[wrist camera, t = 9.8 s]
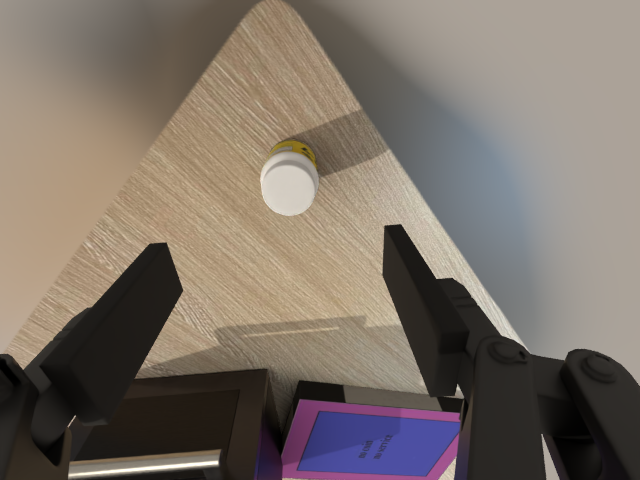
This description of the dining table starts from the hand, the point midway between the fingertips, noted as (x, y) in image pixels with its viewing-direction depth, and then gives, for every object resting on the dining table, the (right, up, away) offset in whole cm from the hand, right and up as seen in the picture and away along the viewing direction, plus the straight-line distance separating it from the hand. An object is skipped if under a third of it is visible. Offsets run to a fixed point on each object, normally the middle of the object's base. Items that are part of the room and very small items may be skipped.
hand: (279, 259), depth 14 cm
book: (+11, -31, +38) cm, 51 cm away
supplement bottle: (-1, +9, +16) cm, 18 cm away
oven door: (-18, -17, +28) cm, 38 cm away
